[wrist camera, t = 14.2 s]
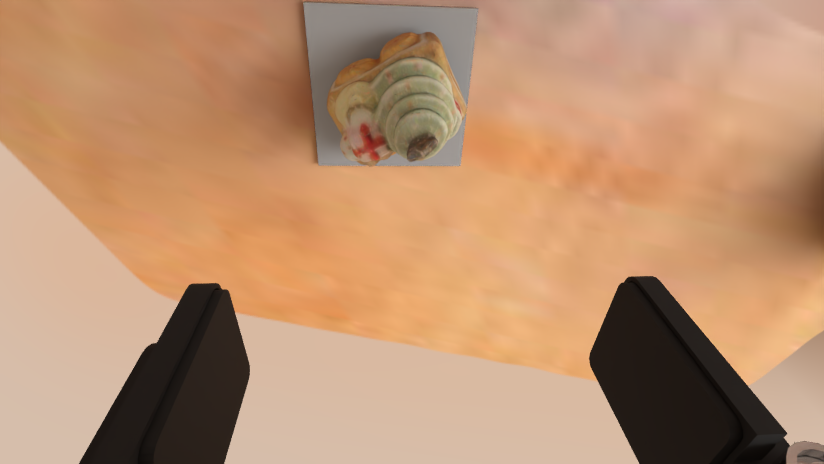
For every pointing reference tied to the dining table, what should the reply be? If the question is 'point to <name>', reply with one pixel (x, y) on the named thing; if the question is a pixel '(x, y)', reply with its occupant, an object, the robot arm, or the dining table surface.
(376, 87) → the ornament
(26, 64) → the dining table surface
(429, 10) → the grey mat
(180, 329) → the robot arm
